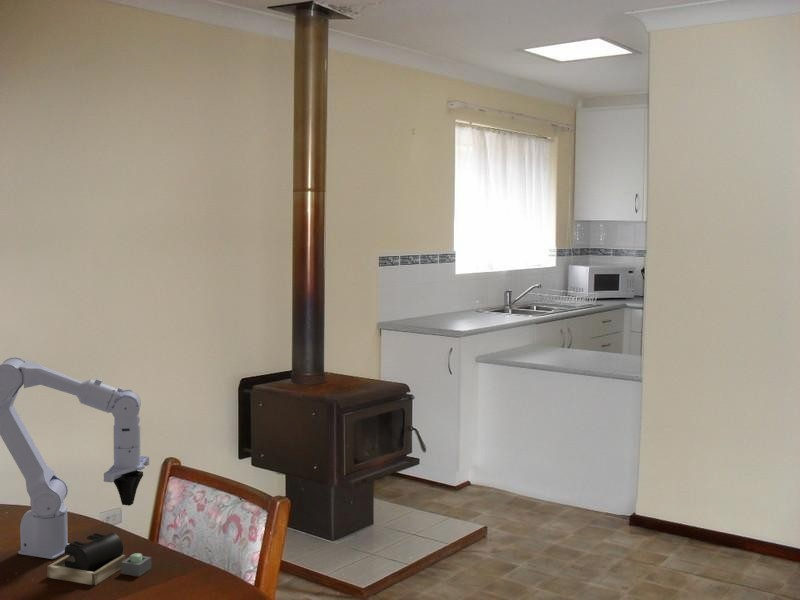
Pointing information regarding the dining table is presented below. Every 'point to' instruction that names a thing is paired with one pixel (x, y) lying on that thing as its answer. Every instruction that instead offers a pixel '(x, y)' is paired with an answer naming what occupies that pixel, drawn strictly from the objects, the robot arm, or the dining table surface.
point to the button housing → (136, 566)
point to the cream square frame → (83, 571)
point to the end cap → (94, 552)
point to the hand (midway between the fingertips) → (127, 504)
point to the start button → (136, 558)
